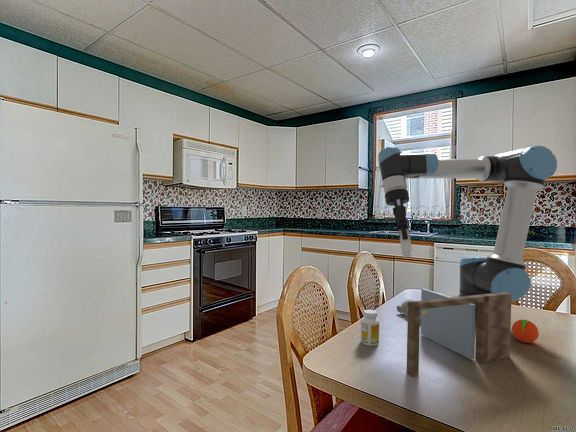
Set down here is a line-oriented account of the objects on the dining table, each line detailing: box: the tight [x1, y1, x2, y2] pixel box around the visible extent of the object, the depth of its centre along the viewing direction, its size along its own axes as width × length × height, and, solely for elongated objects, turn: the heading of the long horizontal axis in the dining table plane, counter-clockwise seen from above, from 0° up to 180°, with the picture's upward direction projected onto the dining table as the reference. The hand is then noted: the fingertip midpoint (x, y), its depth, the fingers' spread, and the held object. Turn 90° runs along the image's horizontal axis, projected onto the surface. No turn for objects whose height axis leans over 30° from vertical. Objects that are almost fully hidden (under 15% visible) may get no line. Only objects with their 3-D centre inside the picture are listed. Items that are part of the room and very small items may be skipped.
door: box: [420, 288, 476, 360], centre depth 98 cm, size 19×3×15 cm, turn 20°
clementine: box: [511, 319, 540, 344], centre depth 102 cm, size 8×7×7 cm
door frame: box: [405, 292, 512, 378], centre depth 87 cm, size 34×2×18 cm, turn 110°
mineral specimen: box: [396, 299, 421, 323], centre depth 123 cm, size 16×7×7 cm, turn 22°
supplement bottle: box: [360, 309, 380, 347], centre depth 100 cm, size 5×5×10 cm
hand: (407, 254), depth 103 cm, fingers open, 13 cm apart
